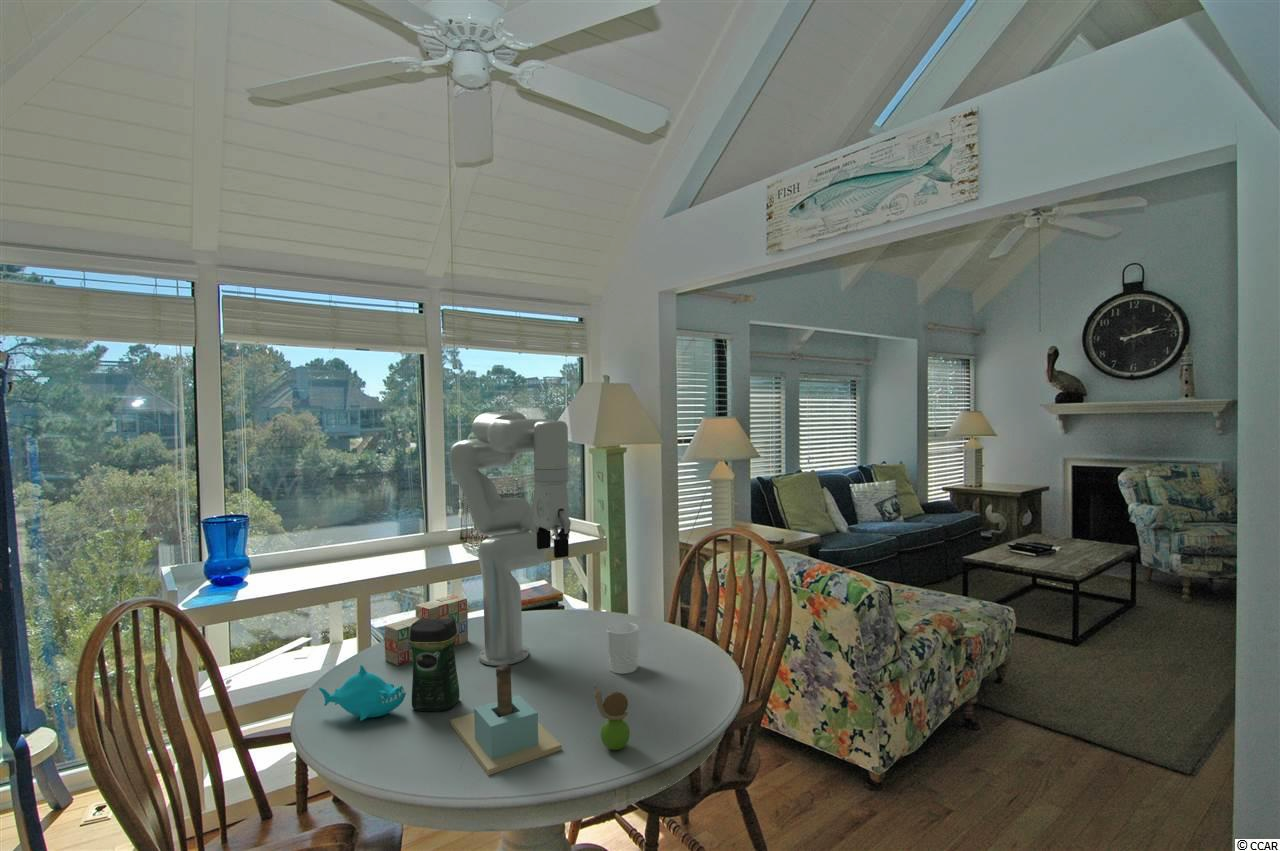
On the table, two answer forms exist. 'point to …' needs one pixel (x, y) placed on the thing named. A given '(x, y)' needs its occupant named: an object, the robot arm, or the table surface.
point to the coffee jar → (434, 664)
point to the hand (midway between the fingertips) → (552, 552)
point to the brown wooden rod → (504, 690)
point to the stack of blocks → (440, 608)
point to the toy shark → (366, 695)
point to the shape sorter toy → (505, 736)
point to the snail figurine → (613, 719)
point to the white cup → (623, 647)
